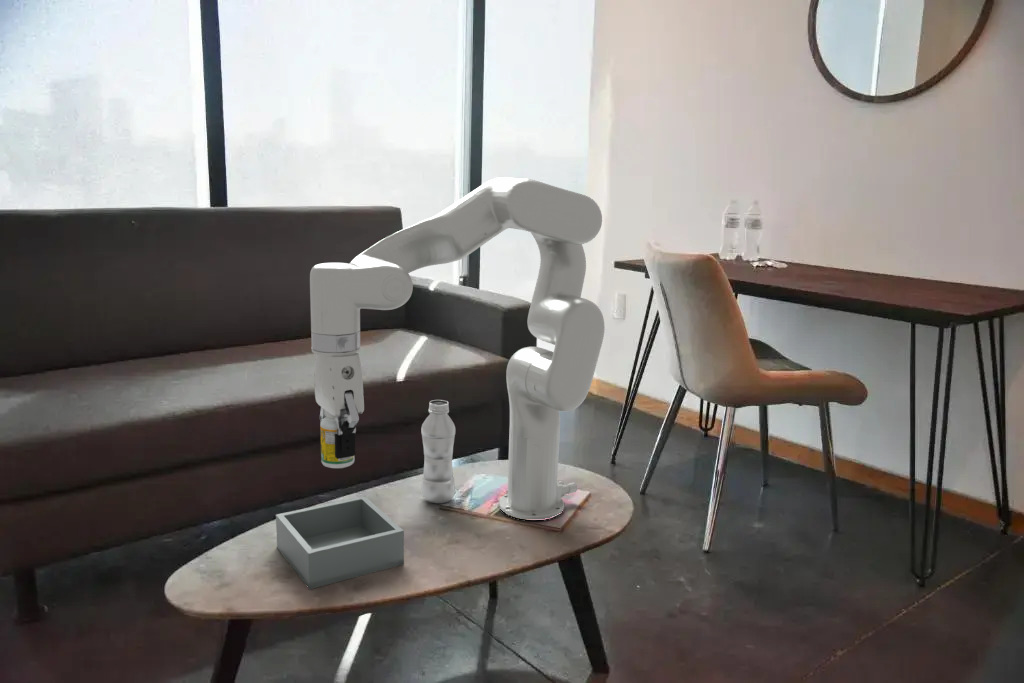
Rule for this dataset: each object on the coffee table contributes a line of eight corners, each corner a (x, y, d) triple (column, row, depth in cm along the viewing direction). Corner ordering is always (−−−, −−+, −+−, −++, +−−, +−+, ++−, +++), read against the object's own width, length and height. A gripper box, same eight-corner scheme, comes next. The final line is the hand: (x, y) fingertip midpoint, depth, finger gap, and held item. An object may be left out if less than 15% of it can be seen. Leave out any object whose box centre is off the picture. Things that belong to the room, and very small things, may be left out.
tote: (365, 527, 146) (364, 495, 145) (403, 564, 133) (403, 530, 132) (277, 547, 138) (275, 514, 136) (309, 589, 125) (308, 553, 123)
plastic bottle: (450, 509, 155) (451, 408, 151) (416, 505, 156) (416, 405, 152) (459, 495, 161) (460, 399, 157) (426, 492, 162) (427, 396, 158)
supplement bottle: (348, 470, 129) (347, 412, 127) (316, 467, 130) (314, 410, 128) (359, 458, 134) (358, 402, 132) (328, 455, 135) (326, 400, 133)
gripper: (380, 350, 123) (381, 463, 127) (338, 329, 137) (340, 432, 140) (333, 355, 119) (335, 472, 122) (294, 333, 132) (297, 438, 136)
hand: (337, 449), depth 131 cm, fingers closed on supplement bottle, 5 cm apart
